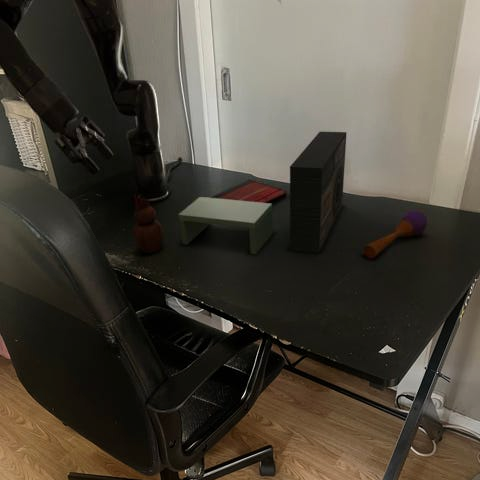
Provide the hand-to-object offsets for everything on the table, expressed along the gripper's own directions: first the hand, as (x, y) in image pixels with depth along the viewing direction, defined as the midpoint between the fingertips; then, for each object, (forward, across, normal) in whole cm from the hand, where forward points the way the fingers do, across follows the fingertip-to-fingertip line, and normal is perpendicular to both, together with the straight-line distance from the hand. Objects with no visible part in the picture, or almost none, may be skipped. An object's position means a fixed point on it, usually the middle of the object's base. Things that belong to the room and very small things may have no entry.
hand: (103, 164), depth 114 cm
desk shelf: (+32, +2, -13) cm, 34 cm away
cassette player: (+45, +10, -31) cm, 55 cm away
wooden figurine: (+22, -6, +2) cm, 23 cm away
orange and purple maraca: (+54, +1, -47) cm, 71 cm away
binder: (+34, +27, -12) cm, 45 cm away
